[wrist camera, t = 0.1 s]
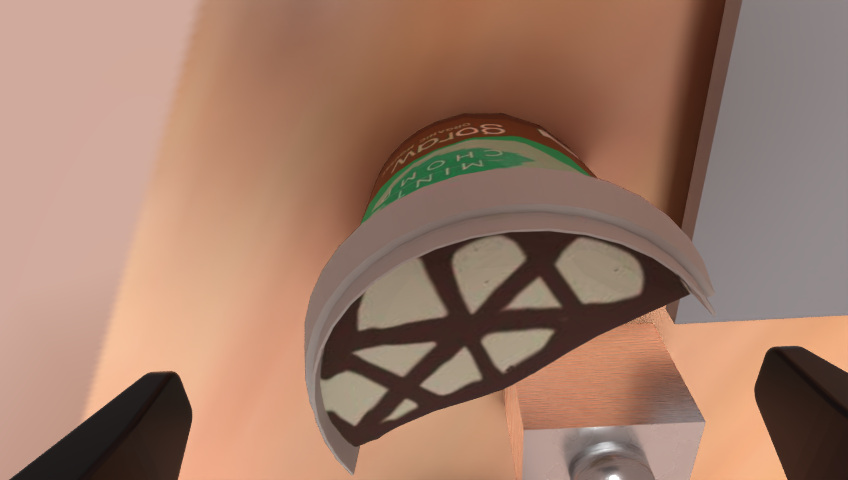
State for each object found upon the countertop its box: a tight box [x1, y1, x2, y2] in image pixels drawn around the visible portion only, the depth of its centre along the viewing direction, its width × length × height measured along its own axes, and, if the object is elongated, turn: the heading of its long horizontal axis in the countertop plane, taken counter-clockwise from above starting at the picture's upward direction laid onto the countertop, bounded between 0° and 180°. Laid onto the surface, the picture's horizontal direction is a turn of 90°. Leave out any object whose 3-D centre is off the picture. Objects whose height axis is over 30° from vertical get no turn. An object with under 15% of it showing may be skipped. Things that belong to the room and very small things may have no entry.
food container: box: [304, 114, 717, 475], centre depth 18 cm, size 12×6×10 cm, turn 123°
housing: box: [504, 323, 705, 480], centre depth 25 cm, size 5×7×7 cm
